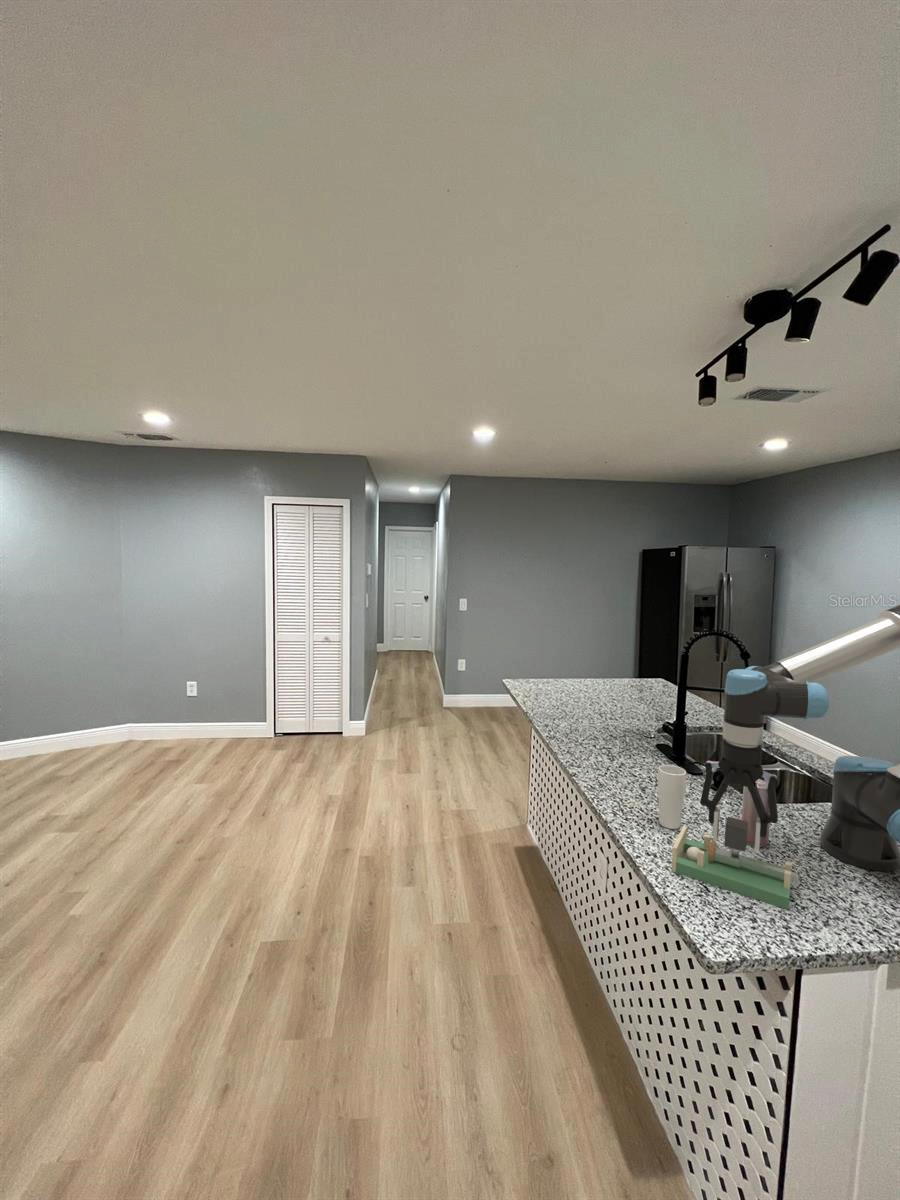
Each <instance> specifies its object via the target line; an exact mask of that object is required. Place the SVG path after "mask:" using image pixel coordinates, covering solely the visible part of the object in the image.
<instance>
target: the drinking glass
mask: <svg viewBox="0 0 900 1200" xmlns="http://www.w3.org/2000/svg"><path fill="white" fill-rule="evenodd" d="M657 771H658V772H657V799H658V800H657V801H658V823H659V825H660V826H662V827H664V828H665V829H669V830H678V829H679V828H681V825H682V814H683V807H684V802H685V794H686V786H687V785H686V784H687V771H686V770H685V769H684V768H683V767H680V766H677V765H673V764H662V765H659V766H658V769H657Z"/></svg>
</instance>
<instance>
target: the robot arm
mask: <svg viewBox="0 0 900 1200" xmlns="http://www.w3.org/2000/svg"><path fill="white" fill-rule="evenodd" d="M898 649H900V604H898V605H896V606H894V607H891V608H889V609H885V610H884V611H881V612H880V613H879V614H878V617H877V619H874V620H872V621H870V622H868V623H865V624H863V625H860V626H858V627H856V628H854V629H851V630H849V631H846V632H844V633H842V634H839V635H837V636H835V637H833V638H830V639H828V640H825V641H823V642H820V643H818V644H815V645H813V646H811V647H808V648H807V649H804V650H801V651H799V652H797V653H795V654H792V655H789V656H788V657H786V658H782V659H780V660H778V661H776V662H773V663H771V664H769V665H766V666H760V665H758V666H757V665H752V666H748V667H746V668H744V669H743V668H741V669H740V668H738V669H737V668H736V669H731V670H729V671H728V673H727V674H726V679H725V686H724V710H723V712H724V713H723V721H722V722H723V723H722V738H723V740H722V741H721V757H720V760H719V761H712V760H711V759H708V760H706V762H705V764H704V766H705V767H704V768H705V773H706V774H705V777H704V778H705V779H704V782H703V783H704V784H703V788H702V791H701V796H700V805H702V806H705V807H707V808H708V823H710V824H712V825H713V829H712V841H715V842H717V841H718V839H719V833H720V832H719V831H720V816H721V815H720V813H721V807H717V806H718V804H719V803H720V801H721V799H722V797H723V796H724V793H726V791H727V789H728V788H729V786H730V784H733V785H740V786H743V787H744V786H745V787H748V790H749V792H750V794H751V796H752V799H753V802H754V805H755V807H756V810H757V813H758V815H759V818H757V822H756V836H755V846H754V852H755V853H756V854H759V853H760V848H761V847H760V837H763V838H765V837H766V835H767V824H768V823H770V824H771V823H772V824H777V823H778V819H779V815H778V801H777V795H776V794H777V793H776V784H777V782H778V781H777V780H778V774H777V773H775V772H773V773H769V772H768V771H764V768H763V766H762V755H763V754H762V753H763V752H762V751H763V747H762V744H763V739H764V725H765V717H771V718H772V717H776V718H790V719H791V718H793V719H795V718H796V719H805V720H807V719H820V718H822V717H824V716H826V714H827V713H828V711H829V707H830V697H829V694H828V690H827V689H826V688H825V687H824V686H823V685H822V684H821V683H818V682H819V681H821V680H825V679H827V678H830V677H832V676H834V675H837V674H839V673H841V672H844V671H846V670H849V669H851V668H853V667H857V666H859V665H861V664H864V663H865V662H869V661H871V660H873V659H876V658H878V657H880V656H883V655H885V654H888V653H891V652H893V651H896V650H898ZM718 768H719V769H720V771H721V773H722V774H723V776H724V778H723V780H722V782H721V784H720V785H719V786H718V787H719V788H718V789H717V790H716V792H715V794H714V796H713V797H712V799H709V797H710V793H711V787H712V783H713V778H714V774H715V772H717V770H718ZM832 773H833V779H832V781H833V782H832V794H831V795H832V796H831V797H832V798H831V809H830V810H831V811H830V815H829V817H828V819H827V821H826V822H825V824H824V825H823V828H822V830H821V832H820V837H819V838H820V839H819V844H820V846H821V847H822V849H823V850H824V851H825V852H826V853H828V854H830V855H831V856H832V857H835V858H836V859H837V860H838V859H839V860H840V861H842V862H844V863H847V864H849V865H853V866H855V867H859V868H862V869H866V870H871V871H876V872H877V871H878V872H891V871H895V870H898V869H899V868H900V848H899V846H898V844H900V762H899V763H898V764H895V763H894V762H891V761H889V760H888V761H887V760H884V759H881V758H880V759H879V758H874V757H868V756H859V755H843V756H842V755H841V756H839V757H837V758H836V760H835V762H834V765H833V771H832ZM760 778H763V779H764V780H763V781H765V783H766V784H768V799H769V809H770V814H767V813H766V810H765V808H764V805H763V802H762V800H761V797H760V794H759V791H758V789H757V785H756V781H757V780H758V779H759V780H760Z"/></svg>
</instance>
